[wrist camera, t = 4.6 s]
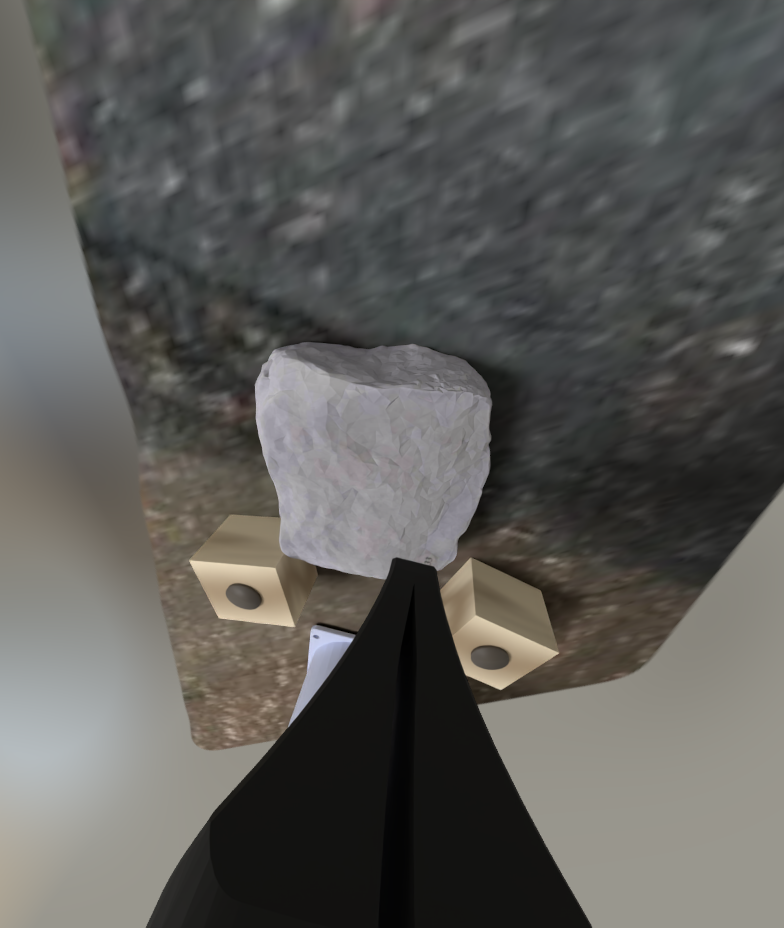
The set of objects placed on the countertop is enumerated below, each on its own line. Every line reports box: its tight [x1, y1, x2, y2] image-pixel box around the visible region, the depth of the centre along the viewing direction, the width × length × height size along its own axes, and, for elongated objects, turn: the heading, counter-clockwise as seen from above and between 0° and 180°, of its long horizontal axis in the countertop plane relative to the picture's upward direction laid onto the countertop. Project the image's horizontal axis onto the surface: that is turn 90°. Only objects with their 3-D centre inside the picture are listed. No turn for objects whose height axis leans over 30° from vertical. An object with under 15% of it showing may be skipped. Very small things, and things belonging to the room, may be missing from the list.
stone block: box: [255, 342, 492, 579], centre depth 16 cm, size 12×5×10 cm
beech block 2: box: [440, 558, 559, 690], centre depth 19 cm, size 5×5×4 cm
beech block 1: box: [189, 515, 318, 627], centre depth 20 cm, size 5×5×4 cm
